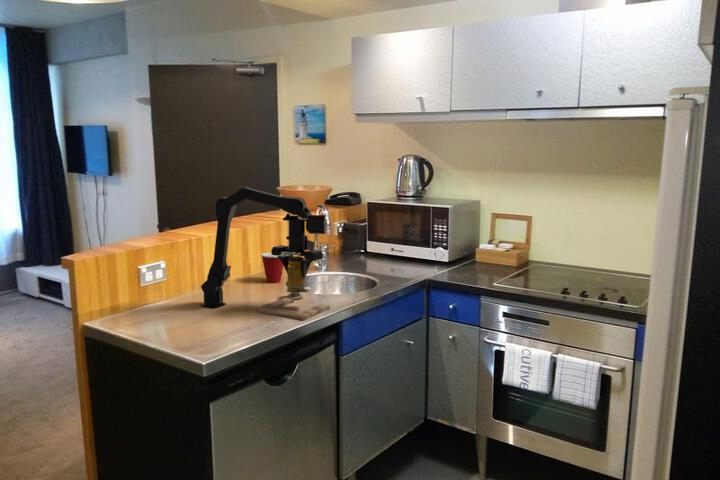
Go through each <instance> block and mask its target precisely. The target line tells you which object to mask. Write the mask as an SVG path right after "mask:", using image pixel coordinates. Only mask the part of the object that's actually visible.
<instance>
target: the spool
mask: <svg viewBox="0 0 720 480" xmlns="http://www.w3.org/2000/svg"><path fill="white" fill-rule="evenodd" d="M287 287H288V284H287V285H286V288H287ZM286 296H287V297H286V298H290V299H294V301H300V300H303V299H304V295H303V294H302V293H301V292H300V293H288V294H287V295H286Z"/></svg>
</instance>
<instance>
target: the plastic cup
mask: <svg viewBox="0 0 720 480" xmlns="http://www.w3.org/2000/svg"><path fill="white" fill-rule="evenodd" d="M260 256H261V259H262V263H263V268H264V270H263V271H264V275H265V280H266V282H267V284H268V283H269V284H278V283H280V282H281V280H282V274H283V270H284V266H283V264H282V262H281V261H280V259H279V258H277V256H276V255H271V252H267V253H266V252H265V253H264V252H263V253H260ZM278 256H279V255H278Z"/></svg>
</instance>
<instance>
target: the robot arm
mask: <svg viewBox="0 0 720 480" xmlns="http://www.w3.org/2000/svg"><path fill="white" fill-rule="evenodd" d="M246 200H249V201H252V202H257V203H260V204H265V205H268V206H271V207H277V208H279V209H280V210H282V211H284V212H285V213H287V214H286V215H285V217H283V218H282V221H288V235H287V236H286V237H285V238H286V239H285V240H288V245H283V244H279V245H276V246H273V247H272V248H271V252H270V253H271V255H276V256H277V258H279V259H280V261H281V262H282V264H283V269H284V270H285V271H286V273H287V275H288V265H289V257H293V256H300V257H303V258H304V259H303V260H300V262H301V271H302V277H303V278H305V279H306V277H307V274H308V271H309V269H310V266H311V264H312V263H313V262H314V261H315V262H316V261H318V260H322V259H323V257H324V256H323V252H322V250H321V249H320V250H319V249H315V245H316V242H315V241H312V240H309V239H308V237H309V236H308V235H306V231H307V232H308V233H309V234H311V235H326V234H327V228H328V227H327V225H328V223H327V219H326V214H312V213H311V211H310V210H309V208H308V207H307V202H306V200H305V199H304V198H303V197H301V196H290V195H289V196H288V195H279V194H275V193H270V192H267V191H263V190H258V189H255V188H251V187H249V186H245V187H241V188H240V189H239V190H238V191H237V192H234V193H233V194H231V195H229V196H224V197H222V198H219V199H217V201H216V202H215V203H214V209H215V217H216V222H217V227H216V234H215V235H216V236H215V244H214V253H213V261H212V263H211V265H210V268H209V269H208V272H207V273H208V274H207V277H206V280H205V281H204V282H203V284H201V285H200V288H201V290H202V292H203V303H202V304H200V307H205V308H210V309H216V308H219V307H222V306H225V305H226V302H224V293H223V292H224V291H223V286H224V283H226V281H228V279H229V278H231V268H232V267H231V265H228V263H227V257H228V256H227V254H228V247H229V238H230V231H231V222H232V221H233V218H234V216H235V213H236V211H237V206H239V204H242V203H243V202H244V201H246ZM278 255H279V256H278Z"/></svg>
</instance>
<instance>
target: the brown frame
mask: <svg viewBox="0 0 720 480" xmlns="http://www.w3.org/2000/svg"><path fill="white" fill-rule="evenodd" d="M294 301H295V300H294V299H290V298H287V297H283V298H280V299H277V300H275V301H273V302H270V303H266V304H264V305H261V306H258V307H257V308H256V311H257V312H260V313H264V314H268V315H275V316H277V317H284V318H288V319H294V320H298V321H306V320H308V319H311V318H313V317H315V316H317V315H319V314H321V313H324V312H326V311H329V310H330V305H328V304H321V303H319V304H318V305H315V306H312V307H310V308H308V309H306V310H302V311H301V312H300V311H296V310H291V309H285V308H283V307H285V306H288V305H291V304H293V303H294Z"/></svg>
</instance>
